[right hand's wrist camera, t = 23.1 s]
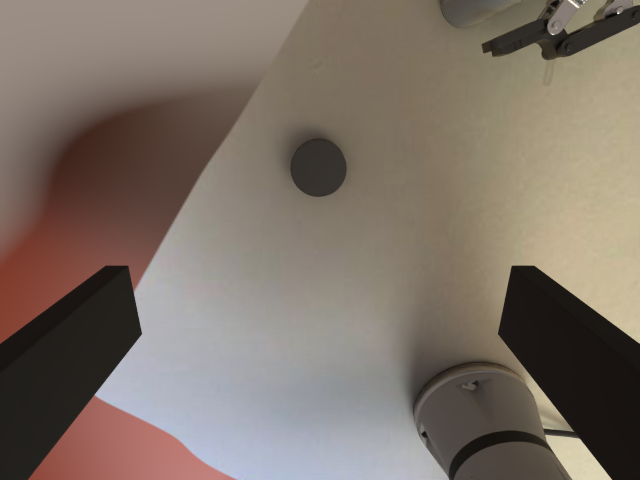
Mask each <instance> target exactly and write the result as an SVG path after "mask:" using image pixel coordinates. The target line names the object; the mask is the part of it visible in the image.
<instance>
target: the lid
mask: <svg viewBox="0 0 640 480" xmlns="http://www.w3.org/2000/svg"><path fill="white" fill-rule="evenodd" d="M291 175H292V178H293V181H294V183H295V184H296V186H297V187H298V188H299V189H300V190H301V191H303V192H304V193H306V194H308V195H311V196H316V197H321V196H326V195H329V194H331V193H333V192H335V191H336V190H337V189H338V188H339V187H340V186H341V184H342V183H343V181H344V179H345V175H346V162H345V159H344V156H343V154H342V152H341V151H340V149H339V148H338V147H337V146H336V145H335V144H334V143H332V142H330V141H328V140H325V139H312V140H309V141H307V142H305V143H304V144H302V145H301V146H300V147H299V148H298V149H297V151H296V153H295V155H294V157H293V159H292V162H291Z"/></svg>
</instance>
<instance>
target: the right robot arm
mask: <svg viewBox="0 0 640 480" xmlns="http://www.w3.org/2000/svg"><path fill="white" fill-rule="evenodd" d="M141 335H142V332H141V327H140V322H139V317H138V312H137V307H136V302H135V297H134V292H133V287H132V282H131V277H130V273H129V267H128V266H105V267H103V268H102V269H101V270H99V271H98V272H97V273H95V274H94V275H93V276H91V277H90V278H89V279H87V280H86V281H85V282H83V283H82V284H80V285H79V286H78V287H76V288H75V289H74V290H72V291H71V292H70V293H68V294H67V295H66V296H64V297H63V298H62V299H60V300H59V301H58V302H56V303H55V304H53V305H52V306H51V307H49V308H48V309H47V310H45V311H44V312H43V313H41V314H40V315H39V316H37V317H36V318H35V319H33V320H32V321H31V322H29V323H28V324H26V325H25V326H24V327H23V328H21V329H20V330H18V331H17V332H16V333H14V334H13V335H12V336H10V337H9V338H8V339H6V340H5V341H4V342H2V343H1V344H0V480H28V479H29V478H30V476H31V475H32V474H33V472H34V471H35V470H36V469H37V467H38V466H39V465H40V463H41V462H42V461H43V460H44V458H45V457H46V456H47V455H48V453H49V452H50V451H51V449H52V448H53V447H54V446H55V444H56V443H57V442H58V440H59V439H60V438H61V437H62V435H63V434H64V433H65V432H66V430H67V429H68V428H69V426H70V425H71V424H72V423H73V421H74V420H75V419H76V418H77V416H78V415H79V414H80V412H81V411H82V410H83V409H84V407H85V406H86V405H87V404H88V402H89V401H90V400H91V398H92V397H93V396H94V395H95V393H96V392H97V391H98V389H99V388H100V387H101V386H102V384H103V383H104V382H105V381H106V379H107V378H108V377H109V375H110V374H111V373H112V372H113V370H114V369H115V368H116V367H117V365H118V364H119V363H120V361H121V360H122V359H123V358H124V356H125V355H126V354H127V352H128V351H129V350H130V349H131V347H132V346H133V345H134V344H135V342H136V341H137V340H138V338H139V337H140V336H141ZM498 335H499V336H500V337H501V338H502V340H503V341H504V342H505V344H506V345H507V346H508V347H509V349H510V350H511V351H512V352H513V354H514V355H515V356H516V358H517V359H518V360H519V361H520V363H521V364H522V365H523V367H524V368H525V369H526V370H527V372H528V373H529V374H530V375H531V377H532V378H533V379H534V381H535V382H536V383H537V384H538V386H539V387H540V388H541V389H542V391H543V392H544V393H545V395H546V396H547V397H548V398H549V400H550V401H551V402H552V404H553V405H554V406H555V407H556V409H557V410H558V411H559V412H560V414H561V415H562V416H563V418H564V419H565V420H566V421H567V423H568V424H569V425H570V426H571V428H572V429H573V430H574V432H571V431H563V430H552V429H543V426H542V423H541V420H540V416H539V413H538V410H537V405H536V402H535V399H534V397H533V395H532V393H531V391H530V390H529V389H528V387H527V386H526V384H525V383H524V382H523V380H522V379H521V378H520V377H519V376H518V375H517V374H515V373H514V372H513V371H511V370H509V369H507V368H505V367H503V366H500V365H496V364H491V363H469V364H464V365H460V366H456V367H453V368H451V369H448V370H446V371H444V372H442V373H441V374H439V375H437V376H436V377H435V378H433V379H432V380H431V381H430V382H429V383H428V384H427V385H426V386H425V387H424V388H423V389H422V391H421V392H420V394H419V396H418V398H417V400H416V403H415V407H414V420H415V423H416V427H417V430H418V433H419V436H420V438H421V440H422V442H423V443H424V445H425V446H426V447H427V449H428V450H429V451H430V453H431V454H432V456H433V457H434V458H435V460H436V461H437V462H438V464H439V465H440V466H441V468H442V469H443V471H444V472H445V473H446V475H447V476H448V478H449V480H572V479H571V477H570V476H569V474H568V473H567V471H566V470H565V468H564V467H563V466H562V464H561V463H560V461H559V460H558V458H557V457H556V455H555V454H554V452H553V451H552V449H551V448H550V446H549V445H548V443H547V441H546V437H545V435H554V436H565V437H573V438H580V439H581V441H582V442H583V443H584V444H585V446H586V447H587V448H588V449H589V451H590V452H591V453H592V455H593V456H594V457H595V458H596V460H597V461H598V462H599V463H600V465H601V466H602V467H603V469H604V470H605V471H606V472H607V474H608V475H609V476H610V478H611V479H612V480H640V344H639V343H638V342H636V341H635V340H634V339H632V338H631V337H630V336H628V335H627V334H626V333H624V332H623V331H622V330H620V329H619V328H618V327H616V326H615V325H614V324H612V323H611V322H609V321H608V320H607V319H605V318H604V317H603V316H601V315H600V314H599V313H597V312H596V311H595V310H593V309H592V308H591V307H589V306H588V305H587V304H585V303H584V302H582V301H581V300H580V299H578V298H577V297H576V296H574V295H573V294H572V293H570V292H569V291H568V290H566V289H565V288H564V287H562V286H561V285H560V284H558V283H557V282H556V281H554V280H553V279H551V278H550V277H549V276H547V275H546V274H545V273H543V272H542V271H541V270H539V269H538V268H537V267H535V266H512V267H511V272H510V277H509V282H508V287H507V292H506V297H505V302H504V307H503V312H502V317H501V322H500V327H499V332H498Z"/></svg>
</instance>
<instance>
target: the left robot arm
mask: <svg viewBox="0 0 640 480" xmlns="http://www.w3.org/2000/svg"><path fill="white" fill-rule="evenodd" d="M586 1H587V0H547V2H546V7H545V8H544V10H543V11H542V13H541V14H540V15H539V17H538V18H537V20H536V21H533V22H531V23H528V24H525V25H523V26H521V27H519V28H517V29H514V30H512V31H510V32H508V33H505V34H503V35H501V36H499V37H496V38H494V39H492V40H490V41H487V42H485V43H483V44H482V49H483V53H486V52H490V51H492V56H493V57H496V56H503V55H507V54H510V53H512V52H514V51H516V50H519V49H521V48H523V47H526V46H528V45H530V44H532V43H537V44H539V45H540V47H541V48H542V57H543V58H544V59H545V60H551V59H555V58H558V57H567V56H570V55H573V54H575V53H577V52H579V51H581V50H583V49H585V48H587V47H590V46H592V45H594V44H596V43H598V42H600V41H602V40H604V39H606V38H609V37H611V36H613V35H615V34H617V33H619V32H621V31H623V30H626V29H628V28H630V27H632V26H634V25H636V24H638V23H640V5H637V6H633V0H607V2H606V3H605V5H604V6H603V7H601V8H600V9H599V10H598V11H597V12H596V14H595V15H594V17H593V20H594V22H592V23H590V24H588V25H586V26H584V27H582V28H580V29H578V30H576V31H573V32H571V33H569V34H567V33H566V31H565V29H564V27H565V26H566V24H567V23H568V21H569V20H570V19H571V17H572V16H573V15H574V13H575V12H576V11H577V9H578V8H579V7H580V6H581V5H582V4H584V3H585V2H586Z"/></svg>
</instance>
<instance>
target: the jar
mask: <svg viewBox="0 0 640 480" xmlns="http://www.w3.org/2000/svg"><path fill="white" fill-rule="evenodd" d="M520 1H522V0H441V8H442V12H443V15H444V17H445V19H446V20H447V21H448V22H449V23H450V24H451V25H453V26H455V27H458V28H467V27H471V26H473V25H475V24H477V23H479V22H481V21H483V20H485V19H487V18H489V17H490V16H492V15H494V14H496V13H498V12H500V11H502V10H504V9H506V8H508V7H510V6H512V5H514V4H516V3H518V2H520Z"/></svg>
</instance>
